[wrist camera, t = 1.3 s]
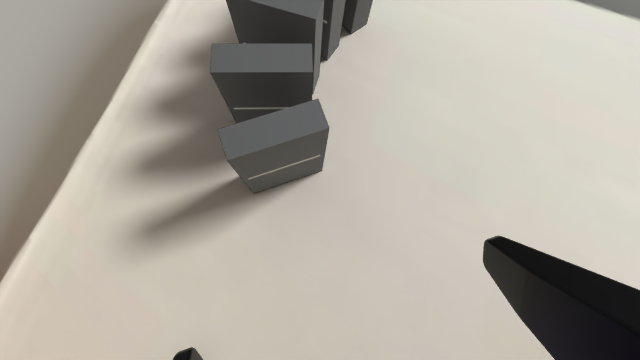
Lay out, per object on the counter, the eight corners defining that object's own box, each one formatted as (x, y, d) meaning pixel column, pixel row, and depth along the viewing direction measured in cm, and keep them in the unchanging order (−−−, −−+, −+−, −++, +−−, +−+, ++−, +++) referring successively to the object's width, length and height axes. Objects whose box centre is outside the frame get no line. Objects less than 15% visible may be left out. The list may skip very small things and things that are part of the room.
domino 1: (313, 94, 25) (315, 19, 17) (249, 75, 25) (223, -7, 17) (319, 75, 25) (324, -7, 18) (256, 57, 25) (234, -32, 18)
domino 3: (322, 171, 24) (329, 128, 16) (254, 193, 23) (227, 161, 15) (314, 150, 24) (317, 98, 16) (247, 172, 23) (217, 128, 16)
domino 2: (310, 132, 24) (312, 72, 16) (241, 133, 24) (210, 72, 16) (310, 111, 25) (312, 43, 17) (242, 111, 24) (211, 42, 17)
